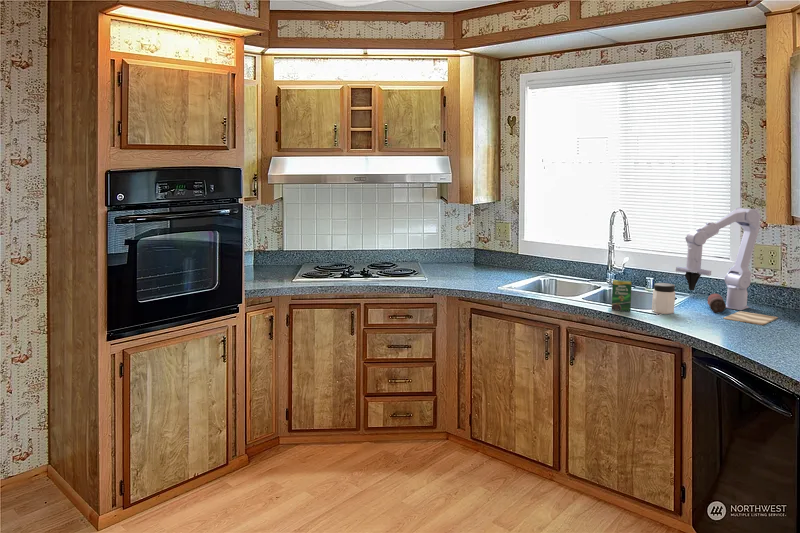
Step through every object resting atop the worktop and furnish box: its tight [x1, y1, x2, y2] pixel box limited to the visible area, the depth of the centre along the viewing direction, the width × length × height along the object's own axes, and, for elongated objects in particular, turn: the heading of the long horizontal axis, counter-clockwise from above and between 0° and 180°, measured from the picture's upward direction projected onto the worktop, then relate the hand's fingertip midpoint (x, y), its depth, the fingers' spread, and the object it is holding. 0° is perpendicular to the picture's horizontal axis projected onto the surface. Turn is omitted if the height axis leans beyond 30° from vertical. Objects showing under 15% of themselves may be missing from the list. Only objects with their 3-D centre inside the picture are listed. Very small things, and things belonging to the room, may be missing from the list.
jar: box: [651, 282, 676, 315], centre depth 285 cm, size 9×8×12 cm
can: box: [707, 293, 727, 314], centre depth 291 cm, size 6×6×14 cm
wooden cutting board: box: [723, 310, 779, 326], centre depth 276 cm, size 18×15×1 cm
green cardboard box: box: [611, 279, 633, 313], centre depth 288 cm, size 8×3×13 cm, turn 66°
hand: (691, 289), depth 289 cm, fingers closed
